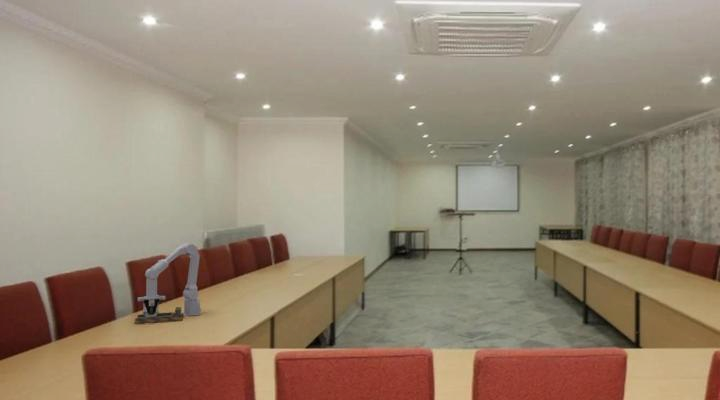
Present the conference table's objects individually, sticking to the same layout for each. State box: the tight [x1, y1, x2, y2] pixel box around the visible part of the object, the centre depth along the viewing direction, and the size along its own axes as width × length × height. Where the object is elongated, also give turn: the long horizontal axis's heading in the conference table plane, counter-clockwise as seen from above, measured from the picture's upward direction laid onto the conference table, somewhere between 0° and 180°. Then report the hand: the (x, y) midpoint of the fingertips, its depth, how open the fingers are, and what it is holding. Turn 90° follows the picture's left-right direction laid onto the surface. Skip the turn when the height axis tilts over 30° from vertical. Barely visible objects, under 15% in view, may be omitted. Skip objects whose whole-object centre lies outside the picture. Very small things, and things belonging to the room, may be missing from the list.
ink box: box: [142, 294, 160, 314], centre depth 278 cm, size 9×5×12 cm, turn 168°
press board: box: [134, 306, 184, 325], centre depth 265 cm, size 25×13×6 cm, turn 108°
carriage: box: [145, 306, 160, 318], centre depth 264 cm, size 7×7×7 cm
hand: (151, 312), depth 264 cm, fingers closed on carriage, 3 cm apart
